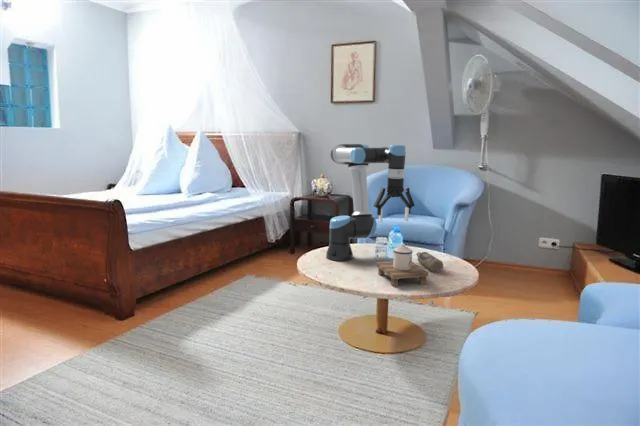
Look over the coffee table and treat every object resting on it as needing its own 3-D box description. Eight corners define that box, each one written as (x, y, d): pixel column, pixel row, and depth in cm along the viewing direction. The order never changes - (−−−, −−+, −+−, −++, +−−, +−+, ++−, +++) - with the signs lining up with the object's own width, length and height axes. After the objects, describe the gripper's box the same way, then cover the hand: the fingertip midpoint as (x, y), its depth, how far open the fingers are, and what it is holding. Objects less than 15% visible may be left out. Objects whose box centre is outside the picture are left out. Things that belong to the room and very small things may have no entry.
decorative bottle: (444, 272, 220) (444, 260, 219) (430, 273, 219) (430, 260, 218) (424, 258, 245) (424, 246, 244) (411, 258, 244) (412, 247, 243)
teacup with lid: (413, 271, 202) (414, 247, 200) (393, 270, 202) (394, 246, 200) (409, 263, 213) (410, 241, 211) (391, 263, 214) (392, 240, 212)
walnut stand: (376, 273, 216) (376, 262, 215) (409, 271, 221) (409, 260, 220) (392, 287, 197) (392, 274, 196) (427, 284, 202) (428, 272, 201)
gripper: (374, 179, 197) (372, 224, 202) (423, 178, 203) (420, 221, 208) (368, 177, 204) (366, 220, 209) (416, 176, 210) (413, 218, 215)
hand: (393, 221), depth 208 cm, fingers open, 13 cm apart
